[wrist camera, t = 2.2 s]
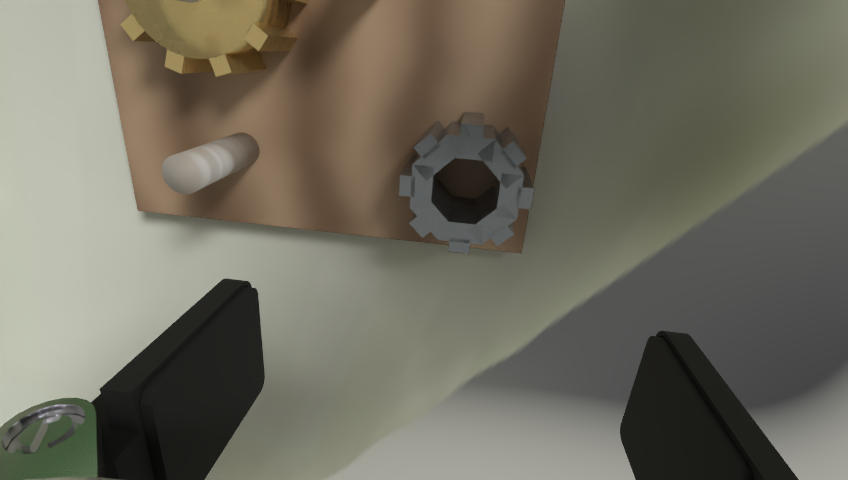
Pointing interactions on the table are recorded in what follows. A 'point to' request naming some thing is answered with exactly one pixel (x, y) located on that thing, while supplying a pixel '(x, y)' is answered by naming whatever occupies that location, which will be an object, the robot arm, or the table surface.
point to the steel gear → (458, 214)
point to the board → (335, 112)
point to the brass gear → (213, 32)
